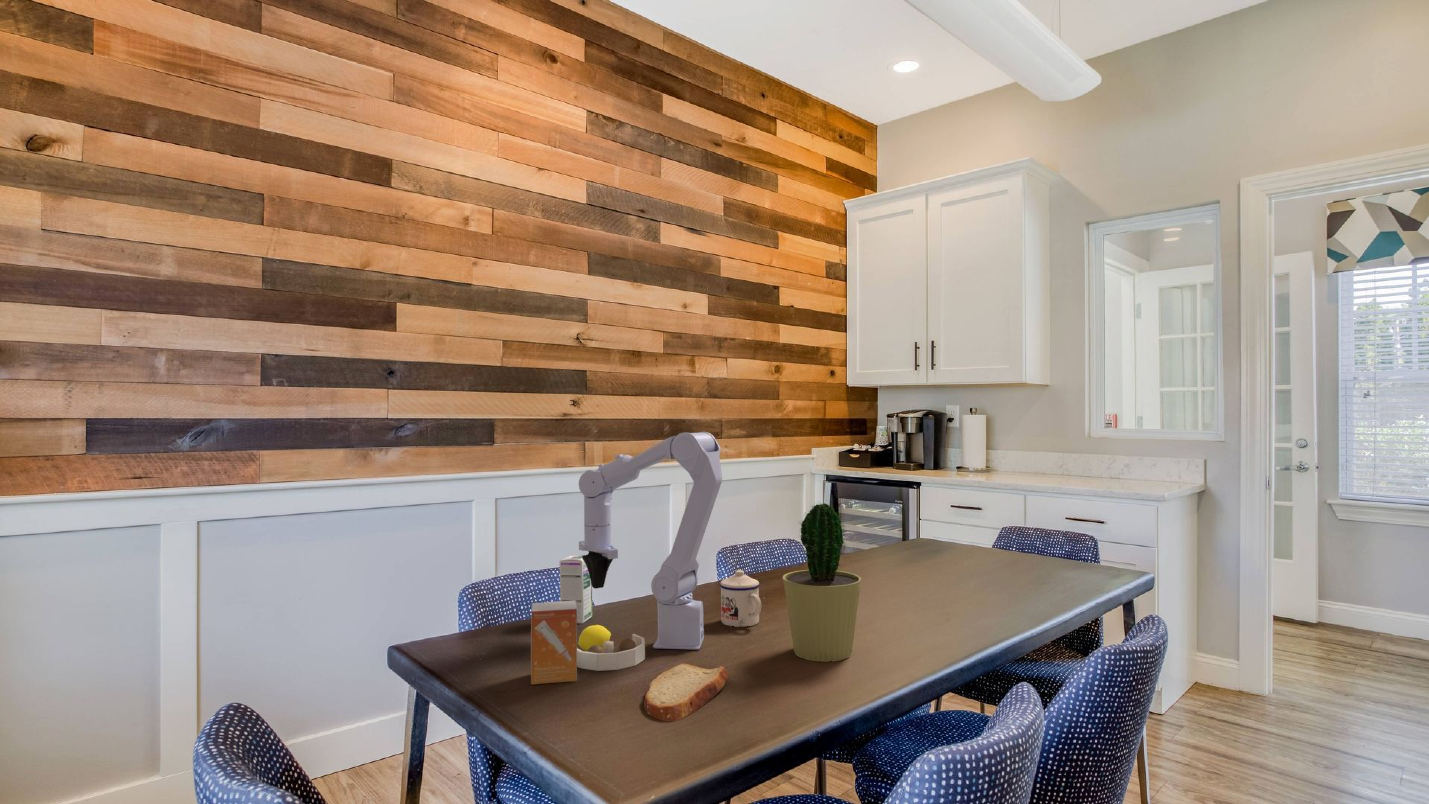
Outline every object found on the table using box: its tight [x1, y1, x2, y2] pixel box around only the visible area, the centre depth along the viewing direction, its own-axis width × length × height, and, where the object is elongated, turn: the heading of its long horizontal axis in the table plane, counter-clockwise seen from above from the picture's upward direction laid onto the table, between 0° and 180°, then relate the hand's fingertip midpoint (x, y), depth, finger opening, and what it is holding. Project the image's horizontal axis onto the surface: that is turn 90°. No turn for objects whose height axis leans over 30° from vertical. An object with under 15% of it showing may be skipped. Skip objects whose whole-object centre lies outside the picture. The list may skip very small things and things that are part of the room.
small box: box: [530, 600, 578, 686], centre depth 133 cm, size 8×6×13 cm
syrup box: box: [559, 554, 594, 624], centre depth 171 cm, size 6×6×14 cm
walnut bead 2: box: [618, 637, 636, 652], centre depth 144 cm, size 3×3×3 cm
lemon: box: [577, 624, 612, 652], centre depth 147 cm, size 7×5×5 cm
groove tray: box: [577, 633, 646, 672], centre depth 143 cm, size 12×14×3 cm
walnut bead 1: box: [587, 645, 604, 653], centre depth 140 cm, size 3×3×3 cm
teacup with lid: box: [719, 569, 762, 628], centre depth 166 cm, size 12×9×12 cm
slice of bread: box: [643, 663, 730, 722], centre depth 124 cm, size 18×18×4 cm
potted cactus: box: [782, 502, 862, 663], centre depth 146 cm, size 15×15×30 cm
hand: (598, 587), depth 160 cm, fingers closed
